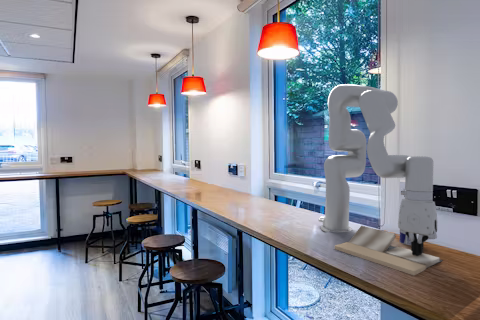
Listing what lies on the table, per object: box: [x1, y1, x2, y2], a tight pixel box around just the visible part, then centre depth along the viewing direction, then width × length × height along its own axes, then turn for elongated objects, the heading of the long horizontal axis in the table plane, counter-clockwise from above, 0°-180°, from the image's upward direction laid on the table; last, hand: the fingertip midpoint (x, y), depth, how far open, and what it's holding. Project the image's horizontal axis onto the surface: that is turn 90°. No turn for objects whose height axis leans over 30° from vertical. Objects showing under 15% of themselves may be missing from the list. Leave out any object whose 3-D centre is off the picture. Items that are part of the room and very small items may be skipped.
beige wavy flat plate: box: [348, 225, 396, 253], centre depth 110 cm, size 12×9×1 cm
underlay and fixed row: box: [334, 241, 443, 276], centre depth 103 cm, size 26×21×2 cm
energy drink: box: [399, 231, 411, 246], centre depth 115 cm, size 5×5×12 cm
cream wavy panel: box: [385, 246, 441, 269], centre depth 100 cm, size 12×9×1 cm
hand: (417, 254), depth 100 cm, fingers closed
